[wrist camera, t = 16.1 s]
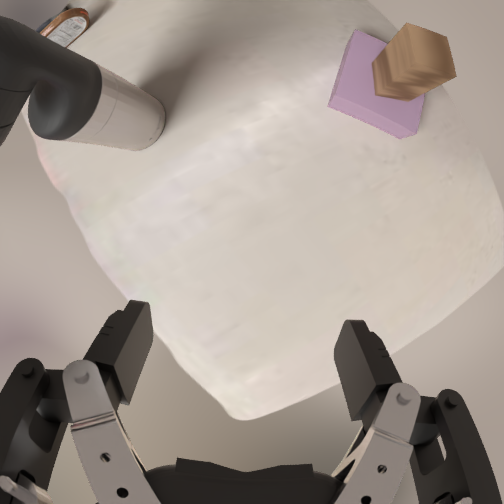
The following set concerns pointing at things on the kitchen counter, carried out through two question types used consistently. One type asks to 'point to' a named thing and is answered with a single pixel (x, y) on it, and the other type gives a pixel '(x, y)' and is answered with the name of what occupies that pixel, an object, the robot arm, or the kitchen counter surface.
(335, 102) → the base block
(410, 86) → the walnut block
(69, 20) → the tin
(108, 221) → the kitchen counter surface
